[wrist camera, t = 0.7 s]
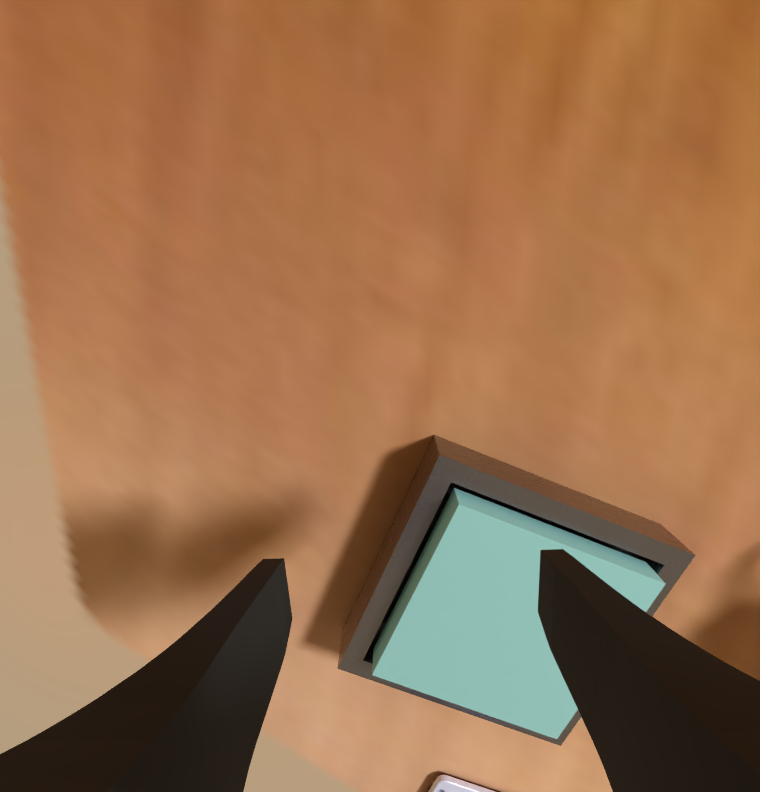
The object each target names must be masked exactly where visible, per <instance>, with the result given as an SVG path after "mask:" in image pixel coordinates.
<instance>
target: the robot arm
mask: <svg viewBox="0 0 760 792" xmlns="http://www.w3.org/2000/svg"><path fill="white" fill-rule="evenodd" d="M538 614H539V617H540V620H541V623H542V626H543V630H544V633H545V635H546V638H547V641H548V644H549V647H550V650H551V652H552V654H553V657H554V659H555V661H556V663H557V665H558V667H559V670H560V672H561V674H562V676H563V678H564V680H565V683H566V685H567V687H568V689H569V691H570V693H571V695H572V698H573V700H574V702H575V704H576V706H577V708H578V710H579V712H580V715H581V717H582V719H583V721H584V723H585V725H586V727H587V730H588V732H589V734H590V736H591V738H592V740H593V742H594V745H595V747H596V749H597V752H598V754H599V756H600V759H601V761H602V763H603V766H604V769H605V771H606V774H607V777H608V779H609V782H610V785H611V787H612V790H613V792H760V681H758V680H757V679H755V678H753V677H751V676H749V675H747V674H745V673H743V672H741V671H739V670H738V669H736V668H734V667H732V666H730V665H729V664H727V663H725V662H723V661H722V660H720V659H718V658H716V657H715V656H713V655H711V654H710V653H708V652H706V651H705V650H703V649H701V648H700V647H698V646H696V645H695V644H693V643H692V642H690V641H688V640H687V639H685V638H683V637H682V636H680V635H679V634H677V633H676V632H674V631H672V630H671V629H669V628H668V627H666V626H665V625H664V624H662V623H661V622H659V621H658V620H656V619H655V618H653V617H652V616H650V615H649V614H648V613H646V612H645V611H643V610H642V609H640V608H639V607H638V606H636V605H635V604H634V603H632V602H631V601H629V600H628V599H627V598H625V597H624V596H623V595H621V594H620V593H619V592H617V591H616V590H615V589H613V588H612V587H611V586H610V585H608V584H607V583H606V582H604V581H603V580H602V579H601V578H599V577H598V576H597V575H596V574H594V573H593V572H592V571H590V570H589V569H588V568H587V567H585V566H584V565H583V564H582V563H580V562H579V561H578V560H577V559H575V558H574V557H573V556H571V555H570V554H569V553H568V552H566V551H565V550H563V549H552V550H540V572H539V595H538ZM291 622H292V613H291V606H290V599H289V591H288V584H287V577H286V570H285V562H284V558H283V559H263V560H262V561H261V562H260V563H258V564H257V565H256V566H255V567H254V568H253V569H252V570H251V571H250V572H249V573H248V574H247V575H246V576H245V577H244V578H243V580H242V581H241V582H240V583H239V584H238V585H237V586H236V587H235V588H234V589H233V590H232V591H231V592H229V593H228V594H227V595H226V596H225V597H224V598H223V599H222V600H221V601H220V602H219V603H218V604H217V605H216V606H215V607H214V608H213V609H212V610H211V611H210V612H209V613H207V614H206V615H205V616H204V617H203V618H202V619H201V620H200V621H199V622H197V623H196V624H195V625H194V626H193V627H192V628H191V629H190V630H188V631H187V632H186V633H185V634H184V635H183V636H182V637H181V638H179V639H178V640H177V641H176V642H175V643H173V644H172V645H171V646H170V647H168V648H167V649H166V650H165V651H163V652H162V653H161V654H159V655H158V656H157V657H156V658H154V659H153V660H152V661H150V662H149V663H148V664H146V665H145V666H144V667H142V668H141V669H140V670H138V671H137V672H136V673H134V674H133V675H131V676H130V677H128V678H127V679H125V680H124V681H122V682H121V683H119V684H118V685H116V686H115V687H114V688H112V689H111V690H109V691H108V692H106V693H105V694H103V695H102V696H100V697H99V698H98V699H96V700H94V701H93V702H91V703H90V704H88V705H86V706H85V707H83V708H81V709H80V710H78V711H77V712H75V713H73V714H72V715H70V716H68V717H67V718H65V719H64V720H62V721H60V722H58V723H57V724H55V725H53V726H51V727H50V728H48V729H46V730H45V731H43V732H41V733H39V734H37V735H36V736H34V737H32V738H31V739H29V740H27V741H25V742H23V743H21V744H19V745H17V746H15V747H13V748H12V749H10V750H8V751H6V752H4V753H2V754H0V792H243V790H244V786H245V782H246V778H247V774H248V769H249V765H250V762H251V759H252V755H253V752H254V749H255V745H256V742H257V739H258V736H259V733H260V730H261V727H262V724H263V721H264V718H265V715H266V712H267V709H268V706H269V703H270V700H271V697H272V693H273V690H274V687H275V684H276V681H277V678H278V675H279V672H280V669H281V666H282V662H283V659H284V656H285V652H286V647H287V642H288V637H289V632H290V627H291ZM428 792H496V791H493V790H490V789H487V788H484V787H481V786H478V785H475V784H472V783H469V782H466V781H463V780H460V779H457V778H454V777H451V776H448V775H440V776H438V777H437V778H436V780H435V782H434V783H433V785H432V786H431V788H430V790H429V791H428Z"/></svg>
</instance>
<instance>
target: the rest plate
mask: <svg viewBox="0 0 760 792" xmlns="http://www.w3.org/2000/svg"><path fill="white" fill-rule="evenodd" d="M552 549H563V550H565V551H566V552H568V553H569V554H570V555H571V556H573V557H574V558H575V559H577V560H578V561H579V562H580V563H582V564H583V565H584V566H585V567H587V568H588V569H589V570H590V571H592V572H593V573H594V574H596V575H597V576H598V577H599V578H601V579H602V580H603V581H604V582H606V583H607V584H608V585H610V586H611V587H612V588H613V589H615V590H616V591H617V592H619V593H620V594H621V595H623V596H624V597H625V598H627V599H628V600H629V601H631V602H632V603H634V604H635V605H636V606H638V607H639V608H640V609H642V610H643V611H645V612H646V611H647V610H648V609H649V607H650V606H651V604H652V603H653V601H654V600H655V599H656V597H657V596H658V594H659V593H660V591H661V590H662V589H663V587H664V586H665V584H666V583H665V582H664V581H663V580H662V579H661V578H660V577H659V576H658V575H657V574H656V573H655V571H654V570H653V569H652V568H651V567H650V566H649V565H648V564H647V563H646V562H645V561H642V560H639V559H637V558H634V557H632V556H629V555H627V554H624V553H621V552H619V551H616V550H614V549H611V548H608V547H606V546H603V545H601V544H598V543H596V542H593V541H590V540H588V539H585V538H583V537H580V536H577V535H575V534H572V533H570V532H567V531H565V530H562V529H559V528H557V527H554V526H552V525H549V524H546V523H544V522H541V521H539V520H536V519H534V518H531V517H528V516H526V515H523V514H521V513H518V512H515V511H513V510H510V509H508V508H505V507H503V506H500V505H497V504H495V503H492V502H490V501H487V500H484V499H482V498H479V497H477V496H474V495H472V494H469V493H466V492H464V491H461V490H459V489H456V488H454V489H453V491H452V493H451V495H450V497H449V499H448V501H447V503H446V505H445V507H444V509H443V511H442V513H441V515H440V517H439V519H438V521H437V523H436V525H435V527H434V529H433V531H432V533H431V535H430V537H429V539H428V541H427V543H426V545H425V547H424V549H423V551H422V553H421V555H420V557H419V559H418V561H417V563H416V565H415V567H414V569H413V571H412V573H411V575H410V577H409V579H408V581H407V583H406V585H405V587H404V589H403V591H402V593H401V595H400V597H399V599H398V601H397V603H396V605H395V607H394V609H393V611H392V613H391V615H390V617H389V619H388V621H387V623H386V625H385V627H384V629H383V631H382V633H381V635H380V637H379V639H378V641H377V643H376V645H375V647H374V649H373V666H372V675H373V676H376V677H379V678H382V679H385V680H388V681H390V682H393V683H396V684H399V685H402V686H405V687H408V688H411V689H414V690H416V691H419V692H422V693H425V694H428V695H431V696H434V697H437V698H439V699H442V700H445V701H448V702H451V703H454V704H457V705H460V706H462V707H465V708H468V709H471V710H474V711H477V712H480V713H483V714H485V715H488V716H491V717H494V718H497V719H500V720H503V721H506V722H508V723H511V724H514V725H517V726H520V727H523V728H526V729H529V730H531V731H534V732H537V733H540V734H543V735H546V736H549V737H552V738H554V739H558V737H559V736H560V734H561V733H562V731H563V730H564V729H565V727H566V726H567V724H568V723H569V721H570V720H571V719H572V717H573V716H574V714H575V713H576V711H577V710H578V708H577V706H576V704H575V702H574V700H573V698H572V695H571V693H570V691H569V689H568V687H567V685H566V683H565V680H564V678H563V676H562V674H561V672H560V670H559V667H558V665H557V663H556V661H555V659H554V657H553V654H552V652H551V650H550V647H549V644H548V641H547V638H546V635H545V633H544V630H543V626H542V623H541V620H540V617H539V614H538V595H539V572H540V550H552Z"/></svg>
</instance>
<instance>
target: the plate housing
mask: <svg viewBox="0 0 760 792" xmlns="http://www.w3.org/2000/svg"><path fill="white" fill-rule="evenodd" d="M454 488H456V489H459V490H461V491H464V492H466V493H469V494H472V495H474V496H477V497H479V498H482V499H484V500H487V501H490V502H492V503H495V504H497V505H500V506H503V507H505V508H508V509H510V510H513V511H515V512H518V513H521V514H523V515H526V516H528V517H531V518H534V519H536V520H539V521H541V522H544V523H546V524H549V525H552V526H554V527H557V528H559V529H562V530H565V531H567V532H570V533H572V534H575V535H577V536H580V537H583V538H585V539H588V540H590V541H593V542H596V543H598V544H601V545H603V546H606V547H608V548H611V549H614V550H616V551H619V552H621V553H624V554H627V555H629V556H632V557H634V558H637V559H639V560H642V561H645V562H646V563H647V564H648V565H649V566H650V567H651V568H652V569H653V570H654V571H655V573H656V574H657V575H658V576H659V577H660V578H661V579H662V580H663V581H664V582H665V583H666V584H665V586H664V587H663V589H662V590H661V591H660V593H659V594H658V596H657V597H656V599H655V600H654V601H653V603H652V604H651V606H650V607H649V609H648V610H647V611H646V613H648V614H649V615H650V616H653V614H654V613H655V612H656V610H657V609H658V607H659V606H660V605H661V603H662V602H663V600H664V599H665V597H666V596H667V595H668V593H669V592H670V590H671V589H672V588H673V586H674V585H675V583H676V582H677V580H678V579H679V578H680V576H681V575H682V573H683V572H684V571H685V569H686V568H687V566H688V565H689V564H690V562H691V561H692V559H693V558H694V556H695V554H694V553H692V552H691V551H690V550H689V549H688V548H687V547H686V546H685V545H683V544H682V543H681V542H680V541H679V540H678V539H677V538H676V537H674V536H673V535H672V534H671V533H670V532H669V531H668V530H666V529H665V528H664V527H663V526H662V525H660V524H658V523H655V522H653V521H650V520H648V519H645V518H643V517H640V516H638V515H635V514H633V513H630V512H628V511H625V510H622V509H620V508H617V507H615V506H612V505H610V504H607V503H605V502H602V501H600V500H597V499H595V498H592V497H590V496H587V495H585V494H582V493H579V492H577V491H574V490H572V489H569V488H567V487H564V486H562V485H559V484H557V483H554V482H552V481H549V480H547V479H544V478H542V477H539V476H536V475H534V474H531V473H529V472H526V471H524V470H521V469H519V468H516V467H514V466H511V465H509V464H506V463H504V462H501V461H499V460H496V459H493V458H491V457H488V456H486V455H483V454H481V453H478V452H476V451H473V450H471V449H468V448H466V447H463V446H461V445H458V444H456V443H453V442H450V441H448V440H445V439H443V438H440V437H438V436H435V435H434V437H433V439H432V441H431V443H430V445H429V447H428V449H427V452H426V454H425V456H424V458H423V460H422V462H421V464H420V467H419V469H418V471H417V473H416V475H415V477H414V479H413V482H412V484H411V486H410V488H409V490H408V492H407V494H406V496H405V499H404V501H403V503H402V505H401V507H400V509H399V511H398V514H397V516H396V518H395V520H394V522H393V524H392V526H391V529H390V531H389V533H388V535H387V537H386V539H385V541H384V543H383V546H382V548H381V550H380V552H379V554H378V556H377V558H376V561H375V563H374V565H373V567H372V569H371V571H370V573H369V576H368V578H367V580H366V582H365V584H364V586H363V588H362V590H361V593H360V595H359V597H358V599H357V601H356V603H355V605H354V608H353V610H352V612H351V614H350V616H349V618H348V620H347V622H346V625H345V627H344V629H343V635H342V642H341V649H340V655H339V662H338V669H341V670H344V671H347V672H349V673H352V674H355V675H358V676H361V677H364V678H367V679H370V680H373V681H375V682H378V683H381V684H384V685H387V686H390V687H393V688H396V689H399V690H401V691H404V692H407V693H410V694H413V695H416V696H419V697H422V698H425V699H427V700H430V701H433V702H436V703H439V704H442V705H445V706H448V707H450V708H453V709H456V710H459V711H462V712H465V713H468V714H471V715H474V716H476V717H479V718H482V719H485V720H488V721H491V722H494V723H497V724H500V725H502V726H505V727H508V728H511V729H514V730H517V731H520V732H523V733H525V734H528V735H531V736H534V737H537V738H540V739H543V740H546V741H549V742H551V743H554V744H557V745H560V746H561V745H562V743H563V742H564V740H565V739H566V737H567V736H568V735H569V733H570V732H571V730H572V729H573V728H574V726H575V725H576V723H577V722H578V720H579V719H580V718H581V715H580V712H579V710H577V711H576V713H575V714H574V716H573V717H572V719H571V720H570V721H569V723H568V724H567V726H566V727H565V729H564V730H563V731H562V733H561V734H560V736H559V737H558V739H554V738H552V737H549V736H546V735H543V734H540V733H537V732H534V731H531V730H529V729H526V728H523V727H520V726H517V725H514V724H511V723H508V722H506V721H503V720H500V719H497V718H494V717H491V716H488V715H485V714H483V713H480V712H477V711H474V710H471V709H468V708H465V707H462V706H460V705H457V704H454V703H451V702H448V701H445V700H442V699H439V698H437V697H434V696H431V695H428V694H425V693H422V692H419V691H416V690H414V689H411V688H408V687H405V686H402V685H399V684H396V683H393V682H390V681H388V680H385V679H382V678H379V677H376V676H373V675H372V666H373V649H374V647H375V645H376V643H377V641H378V639H379V637H380V635H381V633H382V631H383V629H384V627H385V625H386V623H387V621H388V619H389V617H390V615H391V613H392V611H393V609H394V607H395V605H396V603H397V601H398V599H399V597H400V595H401V593H402V591H403V589H404V587H405V585H406V583H407V581H408V579H409V577H410V575H411V573H412V571H413V569H414V567H415V565H416V563H417V561H418V559H419V557H420V555H421V553H422V551H423V549H424V547H425V545H426V543H427V541H428V539H429V537H430V535H431V533H432V531H433V529H434V527H435V525H436V523H437V521H438V519H439V517H440V515H441V513H442V511H443V509H444V507H445V505H446V503H447V501H448V499H449V497H450V495H451V493H452V491H453V489H454Z"/></svg>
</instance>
